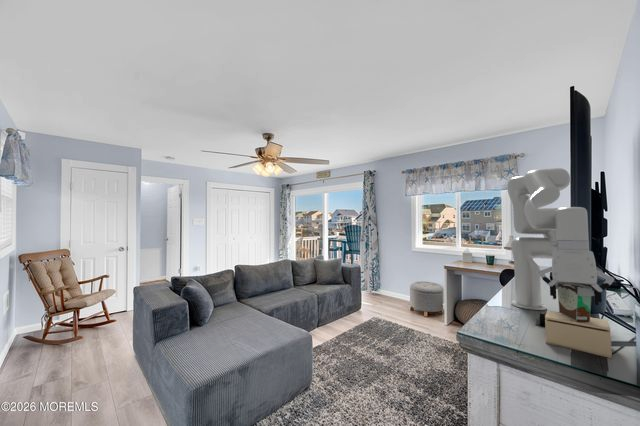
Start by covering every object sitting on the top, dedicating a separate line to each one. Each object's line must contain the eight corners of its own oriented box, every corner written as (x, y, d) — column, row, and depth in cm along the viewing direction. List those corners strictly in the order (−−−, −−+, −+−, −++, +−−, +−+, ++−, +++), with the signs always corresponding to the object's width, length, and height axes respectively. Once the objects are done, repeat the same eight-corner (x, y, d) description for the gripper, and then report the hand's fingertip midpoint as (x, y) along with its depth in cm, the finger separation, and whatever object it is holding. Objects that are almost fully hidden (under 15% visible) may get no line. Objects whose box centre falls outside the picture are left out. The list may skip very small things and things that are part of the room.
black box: (557, 332, 94) (557, 319, 94) (531, 327, 99) (530, 315, 99) (557, 323, 103) (556, 311, 103) (533, 318, 108) (532, 307, 108)
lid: (547, 311, 92) (547, 309, 92) (607, 321, 82) (607, 319, 82) (545, 318, 84) (544, 316, 84) (610, 330, 75) (610, 328, 75)
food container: (606, 326, 76) (605, 290, 77) (579, 323, 78) (578, 288, 79) (579, 313, 88) (578, 282, 89) (556, 311, 90) (556, 281, 90)
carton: (548, 333, 92) (547, 312, 92) (608, 345, 82) (607, 322, 83) (546, 343, 84) (545, 320, 84) (611, 358, 74) (610, 332, 75)
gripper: (536, 245, 88) (538, 298, 87) (614, 248, 76) (617, 309, 75) (538, 244, 93) (540, 294, 92) (611, 247, 81) (614, 304, 80)
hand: (574, 301), depth 84 cm, fingers open, 9 cm apart
